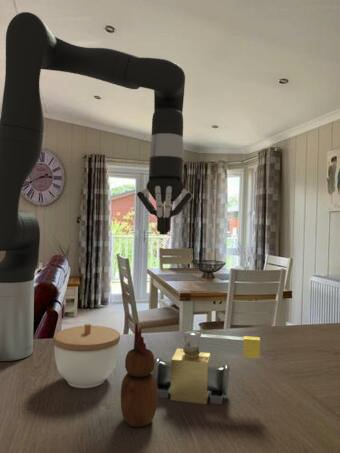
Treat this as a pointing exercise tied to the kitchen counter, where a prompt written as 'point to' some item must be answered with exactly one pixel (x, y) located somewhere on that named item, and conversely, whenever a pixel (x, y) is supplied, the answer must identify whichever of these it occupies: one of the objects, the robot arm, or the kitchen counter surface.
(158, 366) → the ball valve
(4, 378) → the kitchen counter surface
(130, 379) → the wooden figurine
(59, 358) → the lidded bowl
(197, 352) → the lever
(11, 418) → the kitchen counter surface
